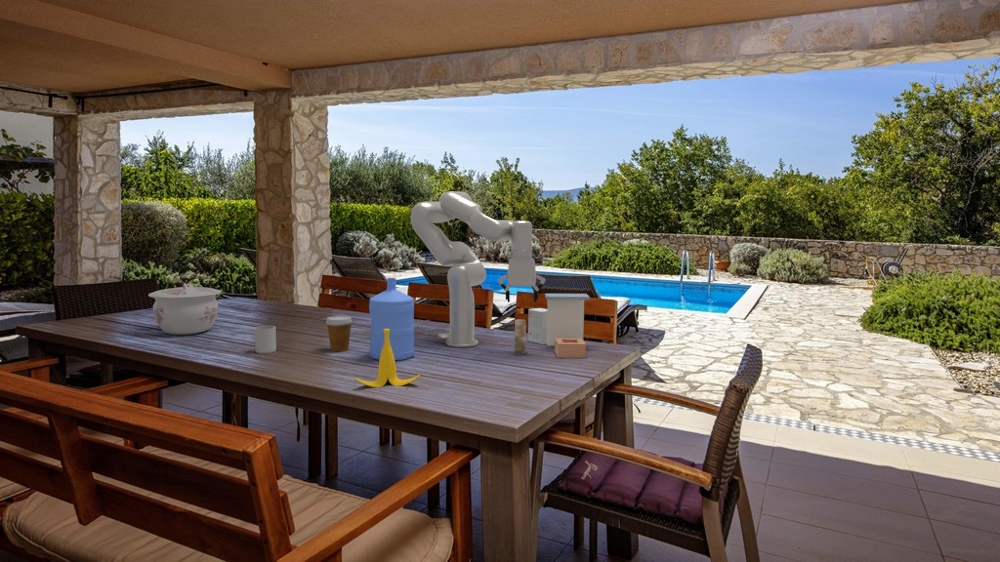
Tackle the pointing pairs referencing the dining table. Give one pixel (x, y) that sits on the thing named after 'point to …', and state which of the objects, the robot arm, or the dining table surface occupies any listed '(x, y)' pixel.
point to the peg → (520, 336)
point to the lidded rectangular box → (565, 316)
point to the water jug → (392, 322)
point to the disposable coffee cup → (339, 332)
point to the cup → (265, 339)
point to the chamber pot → (185, 309)
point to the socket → (570, 348)
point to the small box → (537, 325)
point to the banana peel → (387, 367)
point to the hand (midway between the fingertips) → (521, 301)
